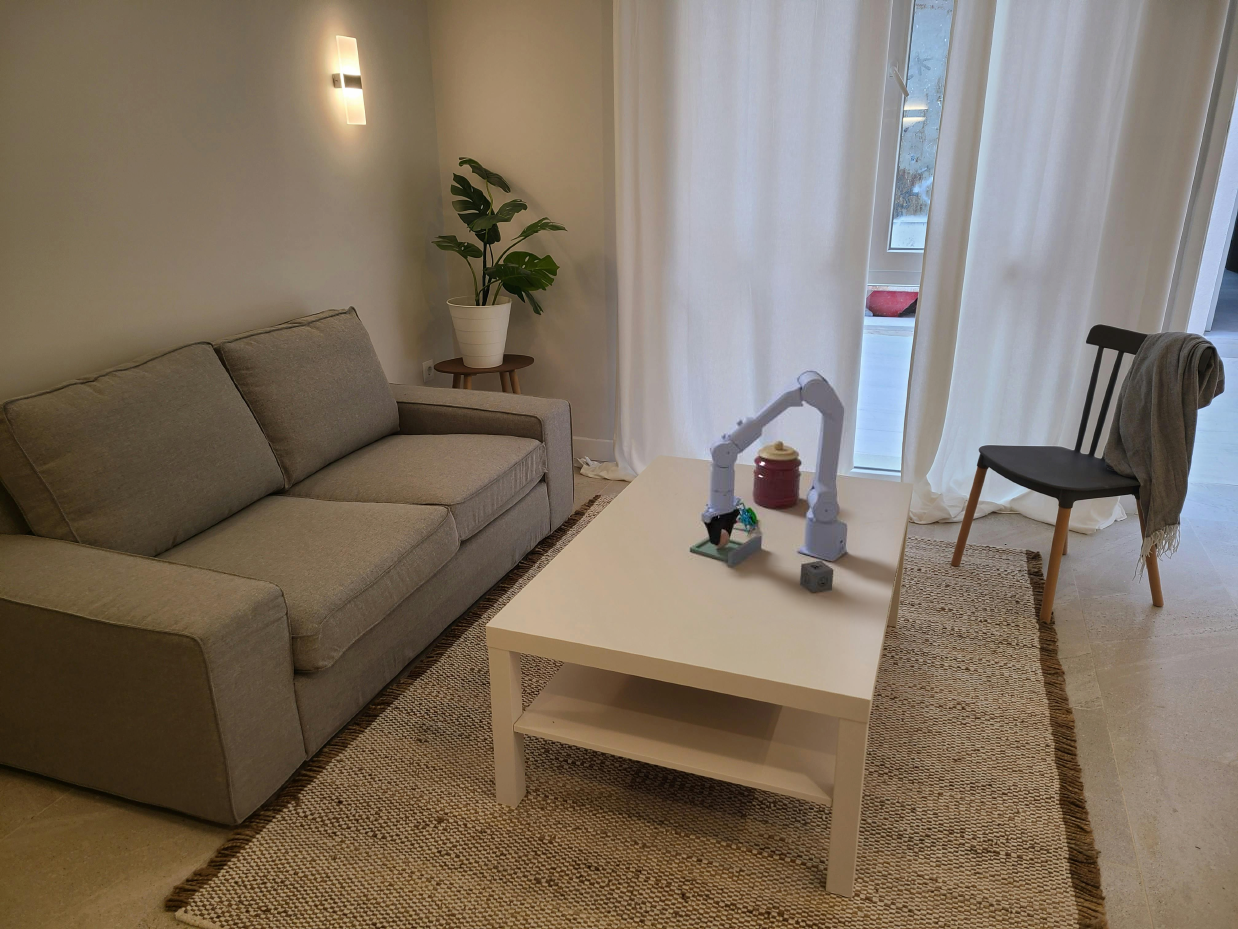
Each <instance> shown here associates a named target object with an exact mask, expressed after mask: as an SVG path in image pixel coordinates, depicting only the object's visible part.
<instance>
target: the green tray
mask: <svg viewBox="0 0 1238 929" xmlns="http://www.w3.org/2000/svg"><path fill="white" fill-rule="evenodd" d="M743 543H744V542H743V541H739V540H736V539H732V538H730V540H729V543H728V544H727V545H726V546H725V547H722V548H719V547H716V546H715V545H714V544H711V543H710V539H709V536H708V537H706V538H704V539H702V540H701V541H699V542H697V543H696V544H693V545H692V546H690V547H689V552H690V553H691V552H692V553H693V554H694V553H695V554H697V555H700V556H704V557H706V558H711V559H714V560H717V561H721V562H724V563H727V564H728V553H729V552H730V551H732V550H734V549H735V548H737V547H738V546H740V545H742V544H743Z"/></svg>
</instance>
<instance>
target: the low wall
mask: <svg viewBox="0 0 1238 929" xmlns="http://www.w3.org/2000/svg"><path fill="white" fill-rule="evenodd" d="M762 541H763V535H762V534H759V533H758V534H757V535H754V536H753V537H751V538H750V539H748V540H746V541H745V542H743V544H742V545H740V546H738V547H737V548H735V549H734V550H732V551H730V552H729V553H728V563H727V567H728V568H733V567H734V566H736V565H738V564H739V563H741V562H742V561H744V560H745V559H747V558H749V557H750V556H753V554H754V553H755V554H756V552H758V551H759V550H761V549H762Z"/></svg>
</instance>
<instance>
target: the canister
mask: <svg viewBox="0 0 1238 929" xmlns="http://www.w3.org/2000/svg"><path fill="white" fill-rule="evenodd" d="M799 456H800V453H799V451H797V450H795V449H794V448H793V447H792V446H789V445H784V442H782V440H776V441H775V442H774V443H773V444H769V445H765V446H764V447H763V448H760V449H759V450H758V451H757V456H756V457H754V459H753V461H754V464H755V469H753V490H752V499H753V502H754V503H755V504H756V505H758V504H759V506H761V507H764V508H768V507H769V508H768V509H788V507H789V508H792V506H793V507H795V506H796V505H797V504H798V503H799V500H800V482H801V475H802V473H801V471H800V467H801V465H802V463H803V462H802V460H801V459H800V458H799Z"/></svg>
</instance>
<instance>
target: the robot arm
mask: <svg viewBox="0 0 1238 929" xmlns="http://www.w3.org/2000/svg"><path fill="white" fill-rule="evenodd" d="M803 402H804V403H806V404H807V405H809V406H811V407H813V408H815V409H816V410H818V412H819V413H820V414H821V420H820V421H821V422H820V427H819V437H818V444H817V454H816V462H815V463H816V464H815V472H814V476H813V479H812V481H811V486H810V489H809V490H808V491H807V494H806V502H807V504H808V505H809V509H808V510H807V512H806V515H805V516H806V517H805V530H804V531H805V533H804V542H803V543H804V545H802V546H801V547H800V548H797V553H798V554H799V553H800V554H803V555H807V556H812V557H813V558H814V557H815V558H816V559H817V558H818V559H822V560H824V561H825V560H826V561H828V562H832V563H833V562H835V561H836V560H837V559H838V558H840V557H841V556H843V555H845V553H846V552H847V548H846V547H847V539H848V524H847V523H846V522H844V521H843V520H842V521H841V520H840V519H839V518H838V516H839V513H840V505H839V503H838V489H837V473H838V466H839V458H840V451H841V443H842V442H841V441H842V434H843V426H844V417H845V416H844V415H845V407H844V405H843V403H842V401H841V400H840V398H839V396H838V395H837V393H836V390H835V388H834V387H832V385H831V384H830V383H829V381H828V380H827V379H826V378H825V377H824V376H822V375H821V374H820V373H819V372H818V371H816V370H812V369H811V370H805V371H803V372H801V373H800V374H799V375H798V376H797V378H794V379H792V380H791V381H790V382H789V383H788V384H787V385H785V387H784V388H783V389H781V391H779V393H777V394H776V395H775V396H774V397H773V398H772V399H771V400H770V401H768V402H767V404H765V405H764V407H762V409H760V410H759V411H758V412H757V413H756V414H755V415H754V416H745V417H744V418H742V419H741V418H738V419H737V420H736V425H734V426H733V427H732V428H731V429H730V430H729V431H728V432H727V433H722V434H721V435H720V437H721V438H720V437H719V438H716V439H715V440H714V441H713V442H712V444H711V446H710V448H709V451H710V455H711V458H712V459H711V464H710V467H711V469H710V477H709V480H710V482H709V483H710V484H709V492H710V493H709V501H707V502H706V503H705V506H706V509H705V510H704V511H703V512H702V513H701V522H702V523H703V524H704V525H705V529H706V531H707V535H708V537H709V539H710V543H711V544H714V545H719V543H720V538H721V532H722V529H723V530H725V531H727V532H728V534H729V536H730V537H731V536H732V532H733V530H734V529H733V528H734V526H735V525H736V524H735V521H736V520H737V518H739V517H740V513H741V510H740V509H739V510H738V509H736V508H735V507H740V506H741V505H740V503H741V502H742V501H741V497H738V496H735V480H736V478H735V477H736V476H735V474H736V470H735V463H736V462H737V460H738V455H740V454H741V453H743V452H744V451H745V450H747V448H749V447H750V446H751V445H752V444H753V443H755V442H756V441H757V440H758V439H759V438H760V437H762V434H763V429H764V428H765V427H766V426H767V425H768V424H770V423H771V422H772V421H774V420H775V419H776V418H777V417H778V416H780V415H781V414H782V413H783V412H785V411H787V409H789V408H791V407H792V408H793V407H794V408H795V407H796V408H797V407H802V408H803V407H804V403H803Z"/></svg>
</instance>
